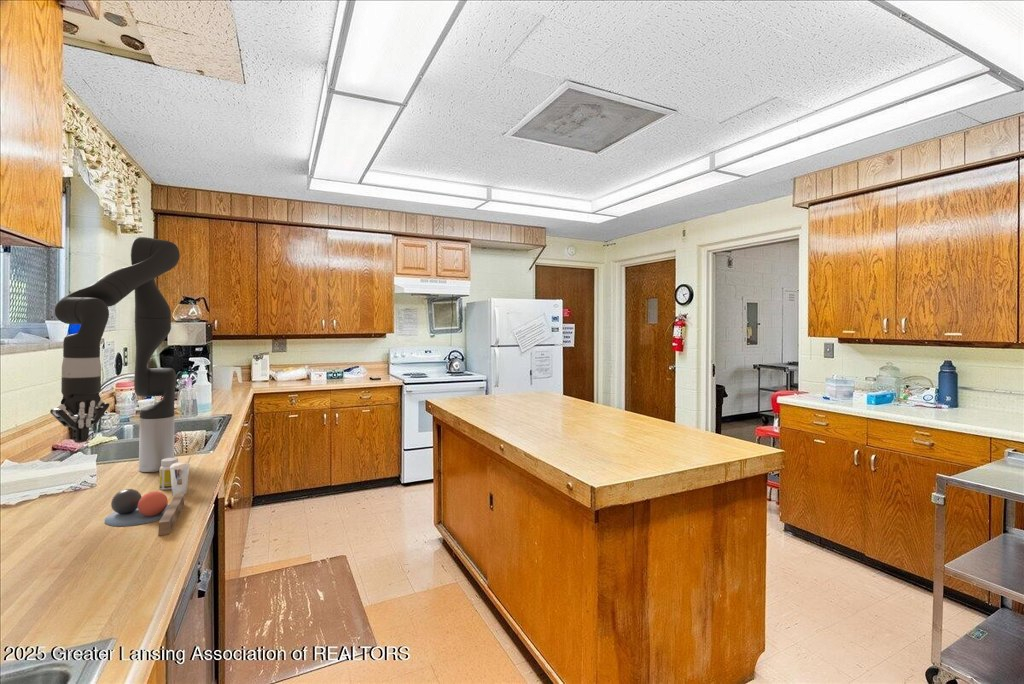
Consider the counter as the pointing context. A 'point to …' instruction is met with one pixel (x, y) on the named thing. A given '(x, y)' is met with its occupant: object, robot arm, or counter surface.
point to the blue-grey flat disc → (131, 518)
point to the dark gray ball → (126, 501)
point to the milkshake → (179, 477)
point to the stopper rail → (171, 514)
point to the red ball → (152, 503)
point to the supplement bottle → (166, 473)
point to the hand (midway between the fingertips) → (80, 441)
